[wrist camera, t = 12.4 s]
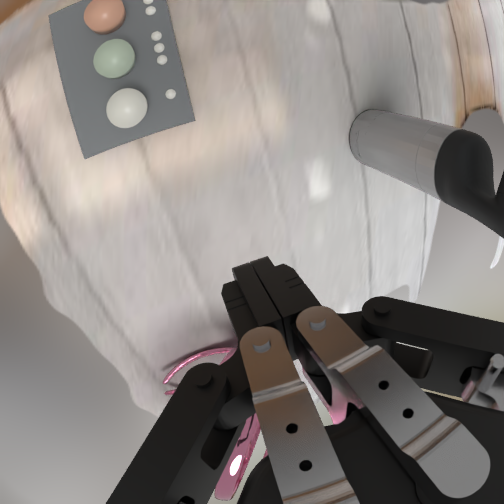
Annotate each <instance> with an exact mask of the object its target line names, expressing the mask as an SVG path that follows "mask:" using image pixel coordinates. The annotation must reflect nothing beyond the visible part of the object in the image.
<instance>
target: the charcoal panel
mask: <svg viewBox="0 0 504 504" xmlns="http://www.w3.org/2000/svg"><path fill="white" fill-rule="evenodd" d="M91 1H92V0H82V1H80V2H77V3H75V4H73V5H70V6H68V7H66V8H64V9H61V10H59V11H57V12H55V13H53V14H51V15H49V22H50V28H51V33H52V39H53V44H54V49H55V54H56V59H57V64H58V68H59V72H60V77H61V81H62V85H63V89H64V93H65V96H66V100H67V104H68V107H69V111H70V114H71V118H72V121H73V125H74V128H75V131H76V134H77V138H78V141H79V144H80V147H81V150H82V153H83V156H84V159H87V158H89V157H92V156H94V155H97V154H99V153H102V152H104V151H107V150H109V149H112V148H114V147H117V146H120V145H122V144H125V143H128V142H130V141H133V140H136V139H139V138H142V137H145V136H148V135H150V134H153V133H157V132H160V131H163V130H166V129H169V128H172V127H175V126H179V125H182V124H186V123H189V122H192V121H195V118H194V114H193V110H192V106H191V102H190V98H189V94H188V90H187V86H186V82H185V78H184V73H183V69H182V65H181V61H180V57H179V53H178V49H177V44H176V40H175V36H174V32H173V27H172V23H171V19H170V14H169V10H168V6H167V1H166V0H121V1H122V2H123V5H124V8H125V11H126V18H125V21H124V23H123V24H122V26H121V27H120V28H119V29H118V30H116V31H114V32H113V33H110V34H106V35H101V34H97V33H95V32H93V31H92V30H91V29H90V28H89V27H88V26H87V25H86V23H85V21H84V12H85V9H86V7H87V6H88V4H89V3H90V2H91ZM112 39H122V40H125V41H127V42H128V43H129V44H130V45H131V46H132V48H133V50H134V52H135V56H136V62H135V65H134V67H133V69H132V70H131V71H130V73H128V74H127V75H126V76H124V77H122V78H119V79H109V78H107V77H104V76H102V75H100V74H99V73H98V72H97V71H96V69H95V67H94V63H93V59H94V55H95V53H96V51H97V49H98V48H99V47H100V46H101V45H102V44H103V43H105V42H106V41H109V40H112ZM124 88H132V89H136V90H138V91H140V92H141V93H142V94H143V95H144V96H145V97H146V99H147V103H148V109H147V112H146V115H145V116H144V118H143V119H142V120H141V121H140V122H139V123H138V124H137V125H135V126H133V127H130V128H119V127H117V126H115V125H113V124H112V123H111V122H110V120H109V119H108V117H107V113H106V107H107V103H108V101H109V99H110V97H111V96H112V95H113V94H114V93H115V92H117V91H119V90H121V89H124Z"/></svg>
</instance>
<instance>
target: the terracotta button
mask: <svg viewBox="0 0 504 504" xmlns="http://www.w3.org/2000/svg"><path fill="white" fill-rule="evenodd" d="M125 18H126V11H125V8H124V5H123V2H122V1H121V0H92V1H91V2H90V3H89V4H88V6H87V7H86V9H85V12H84V21H85V23H86V25H87V26H88V27H89V28H90V29H91V30H92V31H93V32H95V33H97V34H101V35H106V34H110V33H113V32H114V31H116V30H118V29H119V28H120V27H121V26H122V24H123V23H124V21H125Z"/></svg>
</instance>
